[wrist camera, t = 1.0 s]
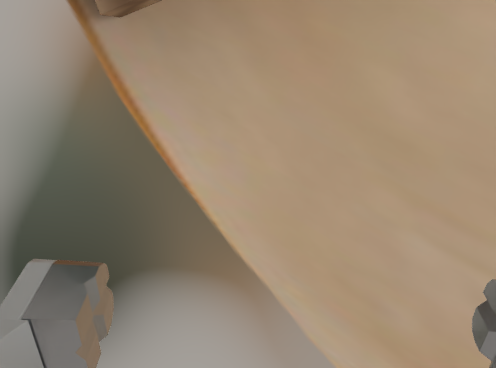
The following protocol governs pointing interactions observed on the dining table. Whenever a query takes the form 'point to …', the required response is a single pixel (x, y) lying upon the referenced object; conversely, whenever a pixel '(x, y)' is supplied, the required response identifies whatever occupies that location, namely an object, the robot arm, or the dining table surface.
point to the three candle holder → (121, 6)
